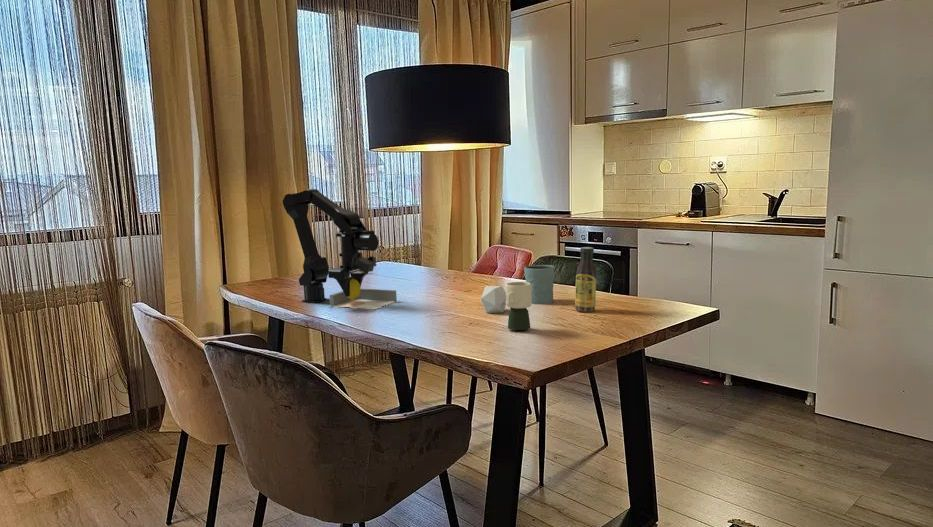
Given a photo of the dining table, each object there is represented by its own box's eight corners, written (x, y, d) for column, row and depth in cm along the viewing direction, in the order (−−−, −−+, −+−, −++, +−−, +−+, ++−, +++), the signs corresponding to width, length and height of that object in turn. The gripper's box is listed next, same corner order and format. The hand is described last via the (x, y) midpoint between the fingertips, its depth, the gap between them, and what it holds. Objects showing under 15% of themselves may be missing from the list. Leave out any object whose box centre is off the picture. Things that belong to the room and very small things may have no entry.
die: (499, 318, 190) (515, 290, 192) (474, 303, 191) (490, 276, 193) (498, 322, 198) (513, 295, 200) (473, 308, 199) (489, 281, 201)
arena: (330, 306, 212) (329, 295, 211) (353, 298, 224) (352, 288, 224) (375, 309, 204) (374, 297, 204) (396, 301, 217) (396, 290, 216)
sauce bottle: (572, 312, 192) (571, 248, 189) (578, 308, 198) (578, 246, 195) (593, 313, 189) (592, 248, 186) (598, 309, 194) (598, 246, 192)
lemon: (362, 298, 216) (361, 276, 215) (359, 302, 211) (358, 278, 210) (346, 299, 216) (345, 276, 215) (343, 302, 211) (341, 279, 210)
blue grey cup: (547, 305, 203) (546, 269, 201) (519, 303, 208) (518, 267, 206) (559, 300, 211) (559, 265, 210) (532, 297, 216) (532, 263, 215)
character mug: (517, 324, 178) (516, 279, 176) (539, 327, 174) (538, 281, 173) (498, 332, 169) (496, 285, 167) (521, 335, 165) (520, 287, 164)
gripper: (354, 253, 199) (357, 301, 202) (384, 247, 216) (386, 291, 218) (326, 253, 204) (328, 299, 206) (357, 246, 221) (360, 289, 223)
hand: (352, 294), depth 213 cm, fingers closed on lemon, 5 cm apart
